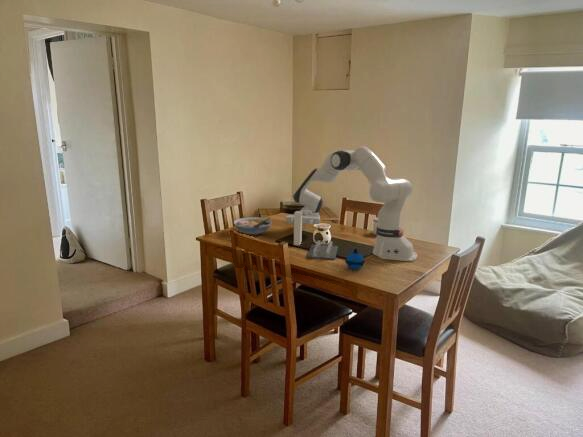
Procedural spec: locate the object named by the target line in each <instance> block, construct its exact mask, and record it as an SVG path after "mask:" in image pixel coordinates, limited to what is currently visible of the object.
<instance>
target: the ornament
mask: <svg viewBox="0 0 583 437" xmlns="http://www.w3.org/2000/svg"><path fill="white" fill-rule="evenodd" d="M364 263H365V258H364V256H363V255H362V254H361V252H358V249H357V248H354V250H353V251H352V252H350V253H349V254H347V256H346V257H345V264H346V266H347V267H348V268H349V269H351V270H353V271H356V270H359V269H361V268H362V267H363V266H364Z"/></svg>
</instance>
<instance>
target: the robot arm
mask: <svg viewBox="0 0 583 437" xmlns="http://www.w3.org/2000/svg"><path fill="white" fill-rule="evenodd" d="M355 170H356V171H358V170H360V172H361V173H362V174H363V176H364V177H365V178H366V179H367V181H368V183H369V185H370V186H369V191H368V192H369V193H368V194H369V196H370V198H371V200H372V201H374V202H376V203H383V205H382V207H381V208H380V209H379V210H378V214H377V217H378V226H377V228H376V235H375V242H374V243H375V244H374V247H373V250H372V254H373V255H375V256H376V257H377V258H379V259H381V260H392V261H400V262H401V261H402V262H413V261H416V260H417V259H418V253H417V252H415V251H414V246H413V243H412V242H411V241H409V239H407V237H406V236H404V229H403V228H400V227H401V226H400V225H401V218H402V217H401V216H402V212H403V208H404V205H405V203H406V201H407V200H408V198H409V197H410V195H412V192H413V184H412V182H410V180H408V179H405V178H399V177H398V178H389V177H388V176H387V175H386V174H387V166H386V165H385V164H384V163H383V162H382V160H381V159H380V158H379V157H378V156H377V155H376V154H375V153H374V152H373V150H371V149H369V148H368V147H367V146H363V145H362V146H359V147H357V148H356V149H355V150H351V149H346V150H344V149H343V150H333V151H331V152H330V153H329V154H328V156H327V157H326V158H325V160H324V161H323V163H322V165H321V166H320V167H318V168H314V169H313V170H312V171H311V172H310V173H309V174H308V176H307V177H306V178H305V179H304V180H303V182H302V183H301V184H300V185H299V187H297V188H296V189H295V191H294V192H293V195H292V197H293V200H294V202H295V203H298V204H300V205H301V206H304V207H302V208H301V209H300V210H299V211H302V226H303V225H304V226H307V225H320V224H321V215H320V213H319V212H320V210H321V208H322V206H323V204H324V201H323V197H321V196H320V195H318V194H317V193H314V192H312V191H311V190H308V187H310V185H311V184H312V183H313V182H322V183H325V184H326V183H327V184H328V183H332V182H334V181H335V180H336V179H337V178H338V177H339V176H340V174H341V172H342V171H349V172H350V171H355ZM285 223H289V224H294V213H293V214H292V213H291V214H287V215H286V216H285Z"/></svg>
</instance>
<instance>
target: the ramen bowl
mask: <svg viewBox="0 0 583 437" xmlns="http://www.w3.org/2000/svg"><path fill="white" fill-rule="evenodd" d="M272 223H273V220H271V217H268V218H264V217H257V216H255V217H253V216H251V217H242V218H237V219H235V220H234V221H233V224H234V226H235V227H236V229H237V230H238V231H239V232H241V233H243V234H245V235H248V236H258V235H260V234H262V233H265V232H266V231H268V229H269V228H270V227H271V225H272Z"/></svg>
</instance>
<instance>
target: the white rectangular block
mask: <svg viewBox="0 0 583 437" xmlns="http://www.w3.org/2000/svg"><path fill="white" fill-rule="evenodd" d="M293 214H294V223H293V246H301V245H300V244H302V243H301V242H302V240H303V238H302V237H303V235H302V232H303V231H302V230H303V225H302V211H300V210H296V211H294V213H293Z"/></svg>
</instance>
